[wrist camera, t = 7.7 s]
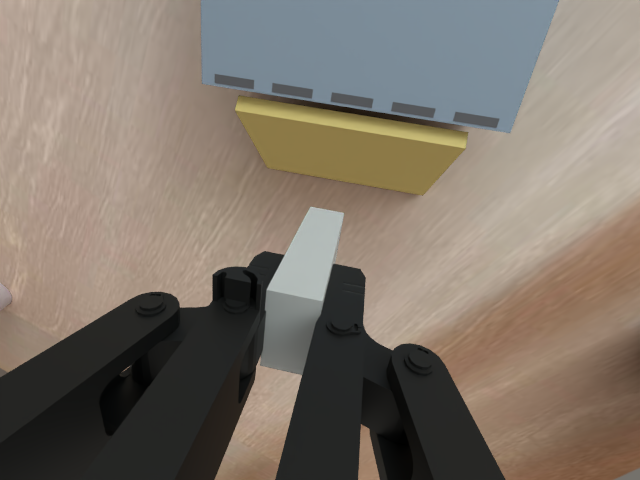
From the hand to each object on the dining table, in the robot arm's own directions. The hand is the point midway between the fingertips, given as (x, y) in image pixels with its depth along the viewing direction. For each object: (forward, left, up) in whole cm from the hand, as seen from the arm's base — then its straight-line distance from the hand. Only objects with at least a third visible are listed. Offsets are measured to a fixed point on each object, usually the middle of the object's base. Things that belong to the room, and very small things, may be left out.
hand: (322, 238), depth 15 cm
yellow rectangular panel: (-2, 0, -12) cm, 12 cm away
